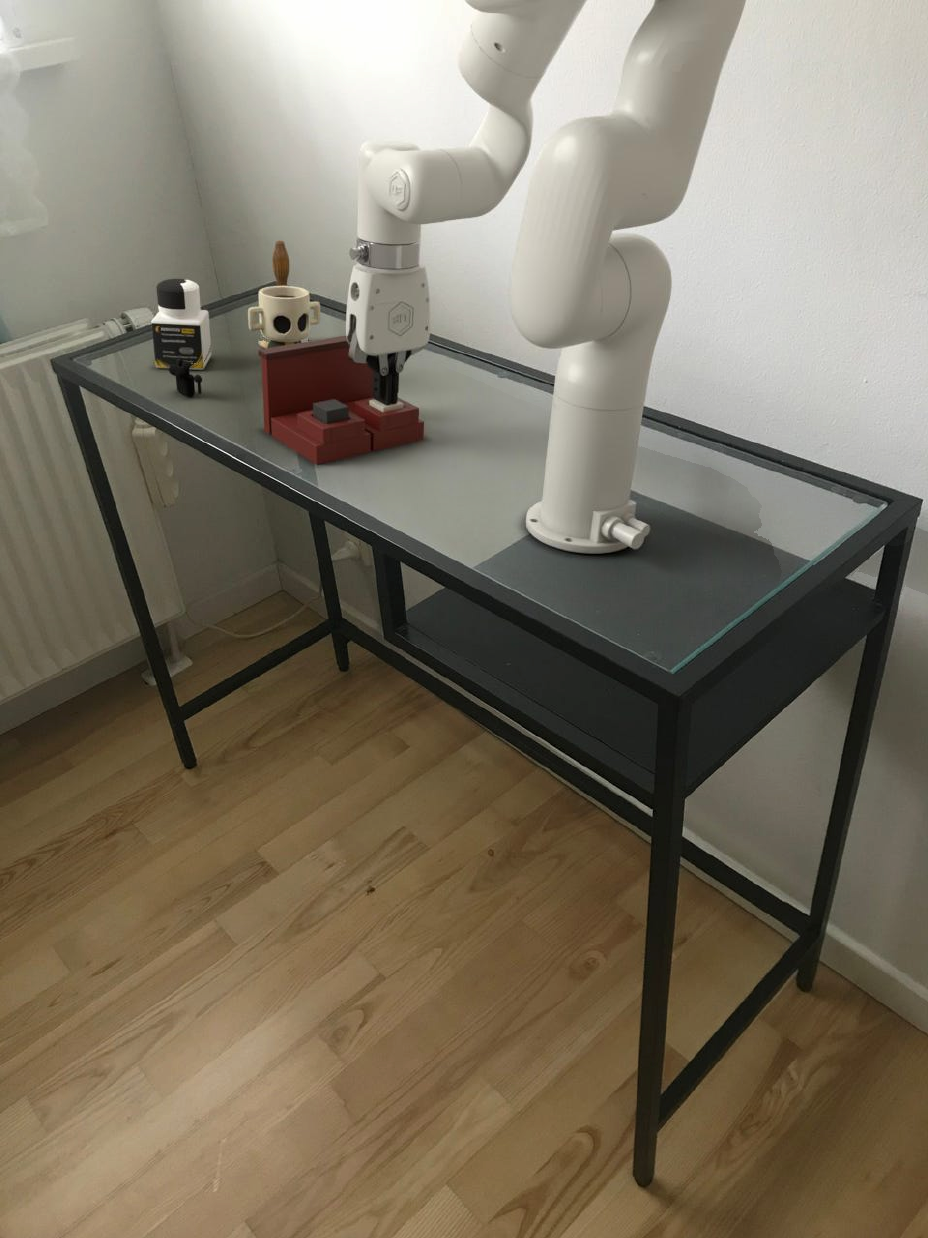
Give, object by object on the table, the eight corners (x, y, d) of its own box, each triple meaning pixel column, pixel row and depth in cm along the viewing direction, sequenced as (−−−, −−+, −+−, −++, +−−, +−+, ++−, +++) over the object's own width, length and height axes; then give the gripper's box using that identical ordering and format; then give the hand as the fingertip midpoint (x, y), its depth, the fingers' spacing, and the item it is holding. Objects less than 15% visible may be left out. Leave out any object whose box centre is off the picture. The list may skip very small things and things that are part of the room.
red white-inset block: (424, 439, 137) (425, 406, 135) (373, 451, 132) (374, 417, 130) (376, 413, 144) (376, 381, 142) (326, 424, 140) (326, 391, 137)
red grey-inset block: (371, 452, 132) (371, 418, 130) (317, 465, 128) (316, 430, 125) (324, 424, 139) (323, 392, 137) (271, 436, 135) (270, 402, 133)
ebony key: (348, 421, 130) (348, 406, 129) (327, 426, 128) (326, 411, 127) (334, 413, 132) (334, 398, 131) (313, 418, 130) (312, 403, 129)
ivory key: (403, 417, 135) (403, 403, 134) (383, 422, 133) (383, 407, 132) (389, 410, 137) (389, 395, 136) (368, 414, 135) (369, 400, 134)
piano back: (376, 412, 144) (377, 335, 139) (269, 435, 135) (265, 353, 129) (368, 408, 146) (369, 331, 140) (261, 430, 136) (257, 349, 131)
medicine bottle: (155, 368, 155) (146, 286, 148) (165, 353, 161) (157, 274, 154) (203, 370, 155) (197, 288, 149) (211, 356, 161) (206, 276, 155)
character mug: (260, 393, 148) (256, 301, 141) (242, 378, 153) (238, 288, 146) (331, 384, 153) (330, 294, 146) (311, 369, 158) (309, 282, 152)
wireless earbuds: (206, 400, 145) (203, 364, 142) (191, 404, 143) (188, 368, 140) (175, 387, 148) (172, 352, 146) (160, 390, 147) (157, 355, 144)
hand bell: (300, 354, 164) (297, 249, 156) (250, 348, 166) (245, 243, 157) (317, 339, 171) (315, 238, 163) (269, 333, 173) (265, 233, 164)
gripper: (353, 267, 118) (352, 421, 128) (457, 255, 126) (448, 400, 136) (318, 252, 123) (320, 402, 132) (420, 242, 131) (414, 383, 141)
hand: (385, 400), depth 134 cm, fingers closed
